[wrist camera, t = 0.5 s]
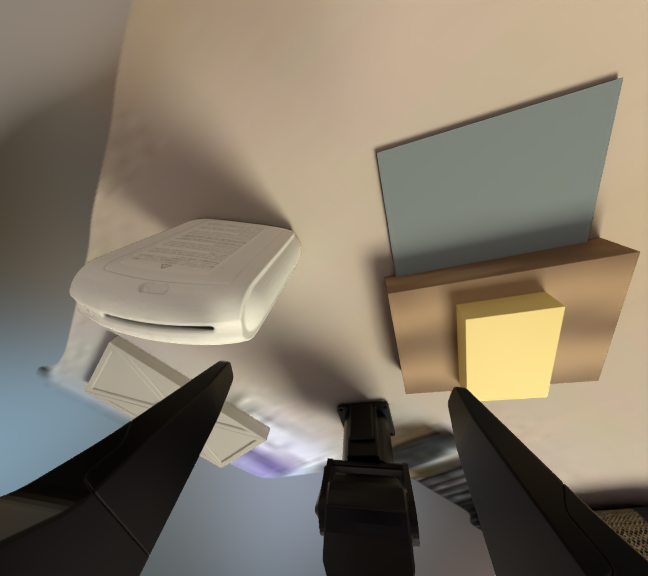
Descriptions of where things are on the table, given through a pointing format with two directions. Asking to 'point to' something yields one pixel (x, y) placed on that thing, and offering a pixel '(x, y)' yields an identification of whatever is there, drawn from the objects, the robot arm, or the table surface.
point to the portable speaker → (629, 526)
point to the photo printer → (190, 282)
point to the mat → (499, 183)
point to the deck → (506, 281)
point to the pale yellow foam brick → (508, 345)
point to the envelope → (157, 383)
